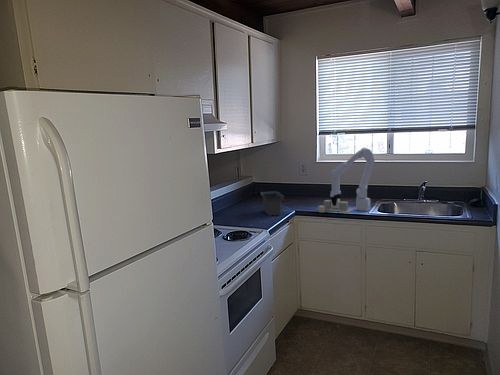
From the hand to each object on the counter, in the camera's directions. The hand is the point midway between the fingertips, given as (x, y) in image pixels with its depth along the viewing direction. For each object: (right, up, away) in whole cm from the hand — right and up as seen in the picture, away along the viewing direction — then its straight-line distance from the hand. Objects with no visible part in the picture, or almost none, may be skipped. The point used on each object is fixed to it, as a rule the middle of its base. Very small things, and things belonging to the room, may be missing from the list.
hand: (335, 204), depth 272 cm
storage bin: (-45, -6, +1) cm, 46 cm away
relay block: (-10, -5, -2) cm, 12 cm away
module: (0, -2, 0) cm, 2 cm away
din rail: (0, -4, +1) cm, 4 cm away
